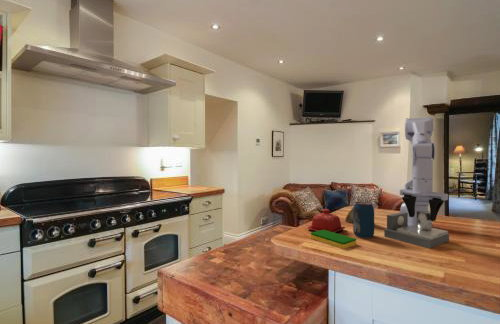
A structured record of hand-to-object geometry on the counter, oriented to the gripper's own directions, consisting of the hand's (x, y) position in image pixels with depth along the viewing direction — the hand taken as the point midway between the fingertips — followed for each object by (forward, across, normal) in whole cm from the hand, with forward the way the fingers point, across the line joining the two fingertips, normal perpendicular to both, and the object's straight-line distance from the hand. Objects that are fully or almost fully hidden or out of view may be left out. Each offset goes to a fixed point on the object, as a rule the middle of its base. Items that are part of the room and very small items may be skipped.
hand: (422, 218), depth 95 cm
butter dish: (+8, -27, -18) cm, 33 cm away
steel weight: (+4, 0, +1) cm, 4 cm away
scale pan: (+5, -1, 0) cm, 5 cm away
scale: (+7, -2, 0) cm, 8 cm away
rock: (+8, -27, +3) cm, 28 cm away
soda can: (+8, -14, -12) cm, 20 cm away
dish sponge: (+8, -16, -26) cm, 32 cm away
